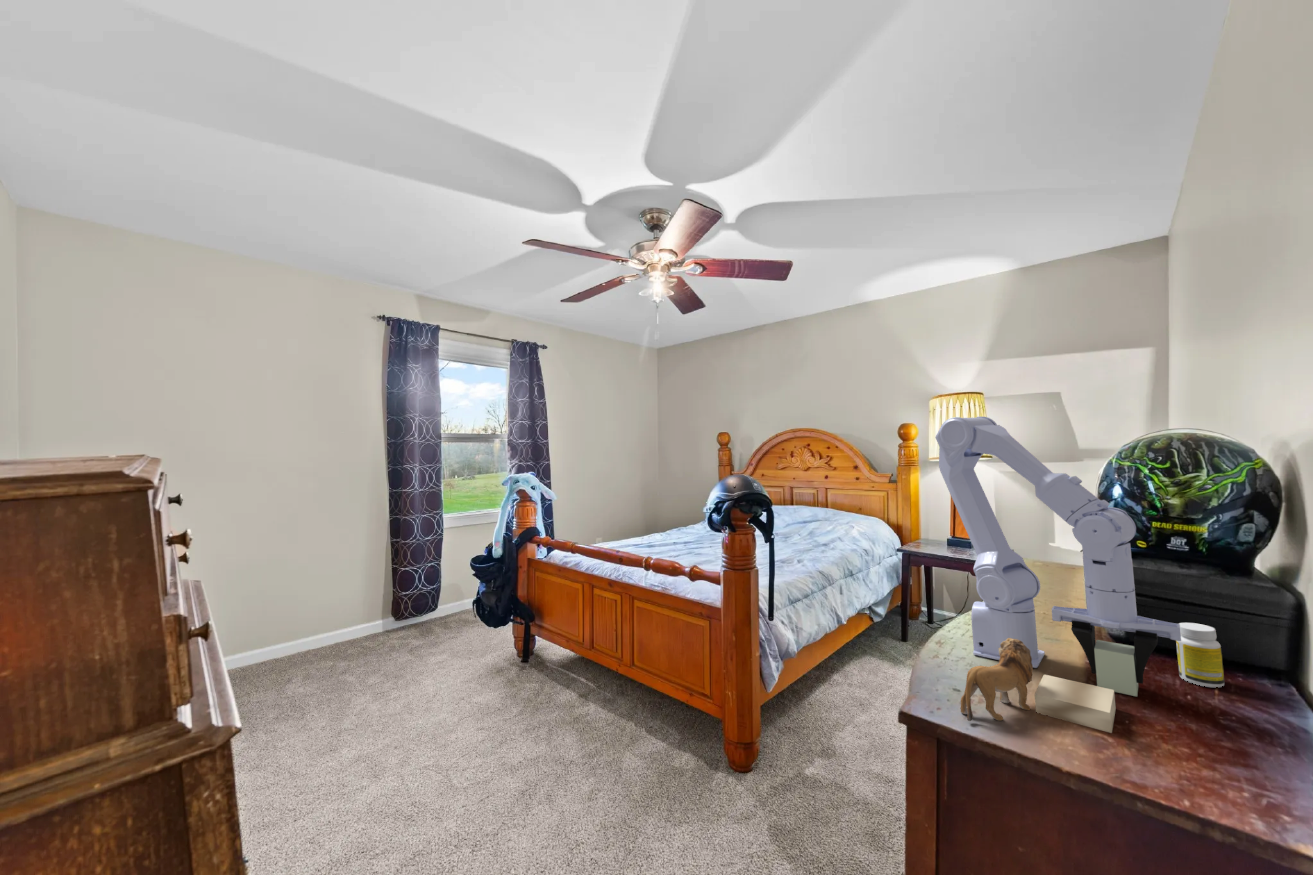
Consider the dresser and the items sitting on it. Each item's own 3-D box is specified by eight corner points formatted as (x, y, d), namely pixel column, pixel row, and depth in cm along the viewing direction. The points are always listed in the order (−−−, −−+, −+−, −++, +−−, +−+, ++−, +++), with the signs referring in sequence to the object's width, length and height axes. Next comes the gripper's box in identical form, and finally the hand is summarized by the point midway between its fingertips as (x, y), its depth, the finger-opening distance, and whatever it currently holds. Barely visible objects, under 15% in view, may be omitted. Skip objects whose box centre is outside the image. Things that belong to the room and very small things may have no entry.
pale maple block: (1036, 715, 71) (1034, 694, 71) (1045, 693, 76) (1043, 674, 76) (1112, 735, 65) (1109, 712, 65) (1115, 711, 70) (1114, 689, 70)
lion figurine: (1006, 688, 78) (1001, 631, 78) (1045, 702, 73) (1040, 641, 73) (950, 717, 71) (946, 653, 71) (990, 734, 66) (985, 666, 66)
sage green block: (1097, 687, 76) (1094, 648, 76) (1100, 677, 79) (1096, 639, 79) (1137, 696, 73) (1133, 655, 73) (1138, 685, 76) (1134, 646, 76)
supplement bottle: (1234, 689, 74) (1229, 632, 74) (1196, 688, 75) (1191, 631, 75) (1206, 674, 78) (1200, 621, 79) (1170, 673, 79) (1165, 621, 80)
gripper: (1046, 586, 79) (1053, 671, 78) (1177, 602, 69) (1186, 701, 68) (1053, 576, 84) (1059, 657, 83) (1176, 590, 73) (1185, 682, 73)
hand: (1116, 676), depth 76 cm, fingers closed on sage green block, 4 cm apart
